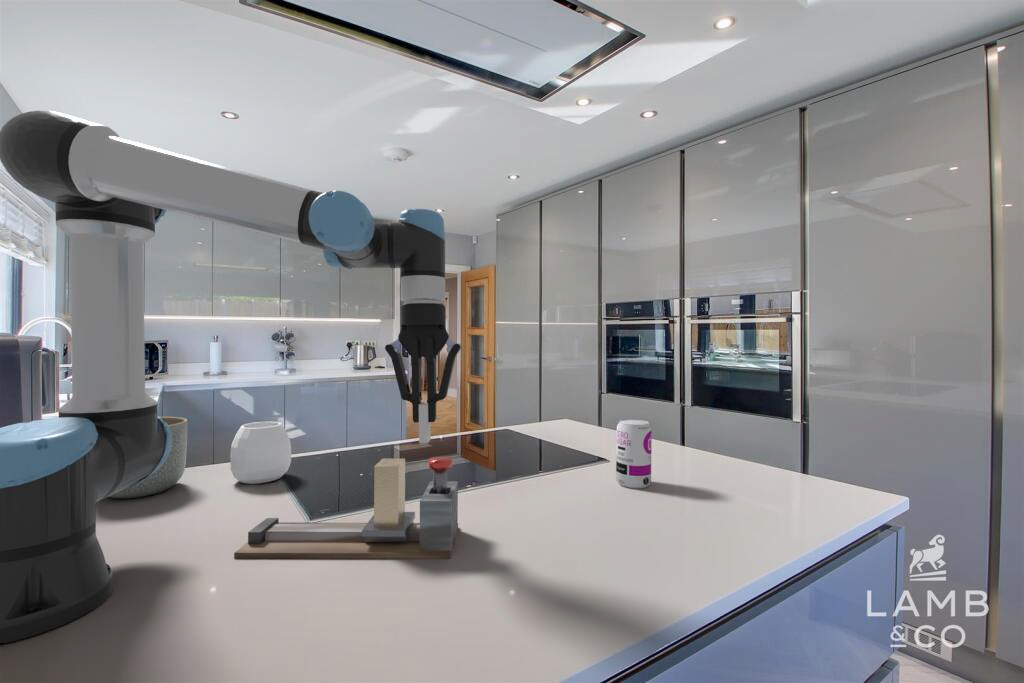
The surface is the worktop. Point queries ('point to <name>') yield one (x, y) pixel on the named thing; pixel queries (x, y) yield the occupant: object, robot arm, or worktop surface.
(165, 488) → the planter
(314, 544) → the rail deck
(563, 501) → the worktop surface
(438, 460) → the red mushroom button
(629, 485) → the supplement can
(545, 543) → the worktop surface
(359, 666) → the worktop surface
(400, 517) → the carriage
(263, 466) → the white vase
